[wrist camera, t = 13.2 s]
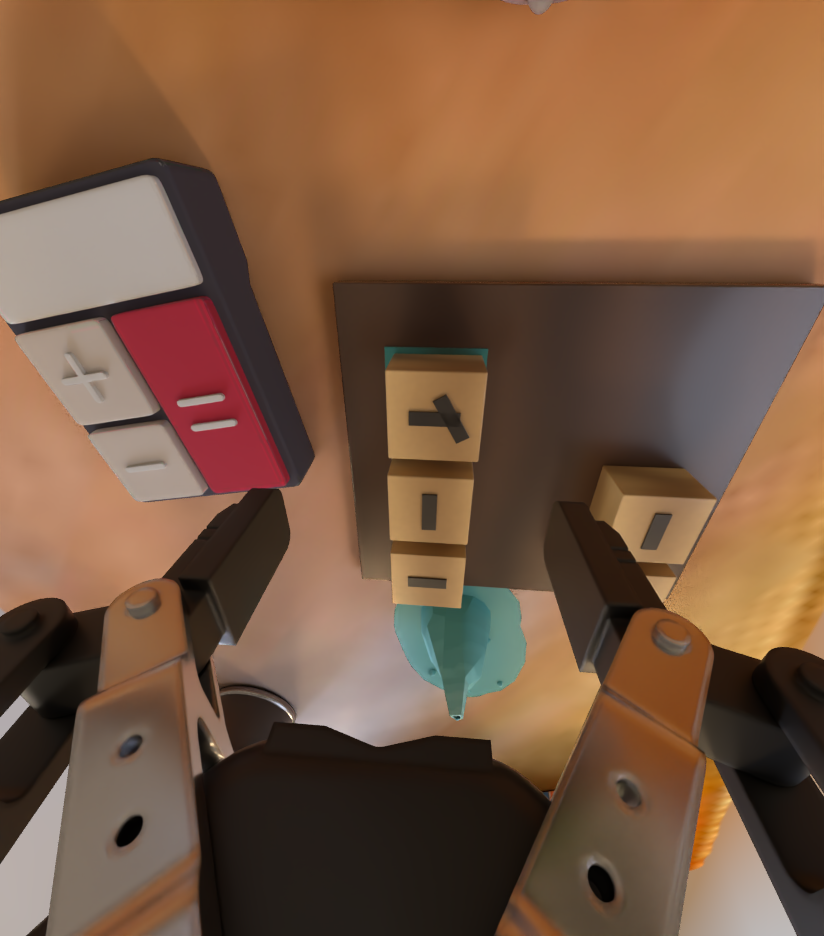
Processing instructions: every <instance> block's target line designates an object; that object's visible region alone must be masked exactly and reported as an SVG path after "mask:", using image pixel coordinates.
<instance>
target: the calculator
mask: <svg viewBox="0 0 824 936" xmlns="http://www.w3.org/2000/svg"><path fill="white" fill-rule="evenodd" d="M0 315H1V316H2V318H3V319H4V320H5V321H6V323H7V324H8V325H9V327H10V328H11V329H12V331H13V332H14V333H15V335H16V336H15V340H16V342H17V344H18V345H19V347H20V348H21V349H22V351H23V352H24V353H25V355H26V356H27V357H28V359H29V360H30V361H31V363H32V364H33V365H34V367H35V368H36V369H37V371H38V372H39V373H40V375H41V376H42V377H43V379H44V380H45V381H46V383H47V384H48V385H49V387H50V388H51V389H52V391H53V392H54V393H55V395H56V396H57V397H58V399H59V400H60V401H61V403H62V404H63V405H64V407H65V408H66V409H67V411H68V412H69V413H70V415H71V416H72V417H73V419H74V420H75V421H76V422H77V423H78V424H80V425H83V426H84V427H85V429H86V430H87V431H88V433H89V435H88V438H89V440H90V441H91V443H92V444H93V445H94V447H95V448H96V449H97V451H98V452H99V453H100V455H101V456H102V457H103V459H104V460H105V461H106V463H107V464H108V465H109V467H110V468H111V469H112V471H113V472H114V473H115V475H116V476H117V477H118V479H119V480H120V481H121V483H122V484H123V485H124V487H125V488H126V489H127V491H128V492H129V493H130V495H131V496H132V497H133V498H134V499H135V500H136V501H143V502H153V501H163V500H172V499H182V498H191V497H200V496H210V495H219V494H229V493H238V492H248V491H249V490H250V489H252V488H271V489H276V488H285V487H294V486H298V485H299V484H300V483H301V482H302V480H303V478H304V476H305V475H306V473H307V471H308V469H309V467H310V466H311V464H312V462H313V460H314V458H315V455H314V452H313V449H312V446H311V444H310V441H309V439H308V436H307V433H306V431H305V428H304V425H303V423H302V420H301V418H300V415H299V412H298V410H297V407H296V404H295V402H294V399H293V397H292V394H291V391H290V389H289V386H288V383H287V381H286V378H285V376H284V373H283V370H282V368H281V365H280V362H279V360H278V357H277V354H276V352H275V349H274V347H273V344H272V341H271V339H270V336H269V333H268V331H267V328H266V326H265V323H264V320H263V318H262V315H261V312H260V310H259V307H258V305H257V302H256V299H255V297H254V294H253V291H252V289H251V286H250V281H249V273H248V264H247V260H246V257H245V254H244V252H243V249H242V246H241V244H240V241H239V238H238V235H237V233H236V230H235V227H234V225H233V222H232V219H231V217H230V214H229V211H228V209H227V206H226V203H225V201H224V198H223V195H222V192H221V190H220V187H219V185H218V182H217V180H216V178H215V176H214V174H213V173H212V172H211V171H209V170H207V169H204V168H200V167H195V166H191V165H187V164H182V163H178V162H173V161H169V160H164V159H159V158H151V159H147V160H143V161H140V162H136V163H133V164H129V165H126V166H122V167H119V168H115V169H112V170H108V171H104V172H101V173H97V174H94V175H90V176H87V177H83V178H80V179H76V180H73V181H69V182H66V183H62V184H59V185H55V186H52V187H48V188H45V189H41V190H37V191H34V192H30V193H27V194H23V195H20V196H16V197H13V198H9V199H6V200H2V201H0Z"/></svg>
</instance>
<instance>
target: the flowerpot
mask: <svg viewBox="0 0 824 936" xmlns="http://www.w3.org/2000/svg"><path fill="white" fill-rule="evenodd" d="M501 1H504V2H507V3H512V4H520V5H529V7H530V9H531V11H532V12H533V13H535V14H537V15H539V14H542V13H544V12H545V11H546V10H547V9H548V8H549V7H550V6H551V4H552V3H558V2H563V1H567V0H501Z"/></svg>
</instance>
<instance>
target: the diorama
mask: <svg viewBox="0 0 824 936" xmlns="http://www.w3.org/2000/svg"><path fill="white" fill-rule="evenodd" d="M520 623H521V612H520V604H519V601H518V600H517V599H516V597H515V596H514V595H513V594H512V592H511V591H510V590H509V589H507V588H492V587H477V586H463V593H462V602H461V608H449V607H435V606H421V605H408V604H397V606H396V608H395V615H394V627H395V631H396V634H397V637H398V639H399V642H400V644H401V646H402V649H403V651H404V653H405V655H406V657H407V659H408V661H409V663H410V664H411V666H412V667H413V668H414V669H415V670H416V671H417V673H418V674H419V675H420V676H421V677H422V678H423V679H424V680H426V681H428V682H430V683H432V684H433V685H435V686H437V687H439V688H440V689H443V690H444V691H445V696H446V701H447V705H448V710H449V715H450V716H451V717H452V718H454V719H455V720H460V719H463V716H464V710H465V704H466V698H467V697H477V696H481V695H484V694H486V693H491V692H496V691H501V690H503V689H504V688H505V687H507V686H508V685H509V684H511V683H512V682H514V681H515V679H516V678H517V676H518V674H519V672H520V670H521V669H522V667H523V665H524V663H525V655H526V644H527V643H526V640H525V638H524V635H523V632H522V629H521V627H520Z"/></svg>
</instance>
